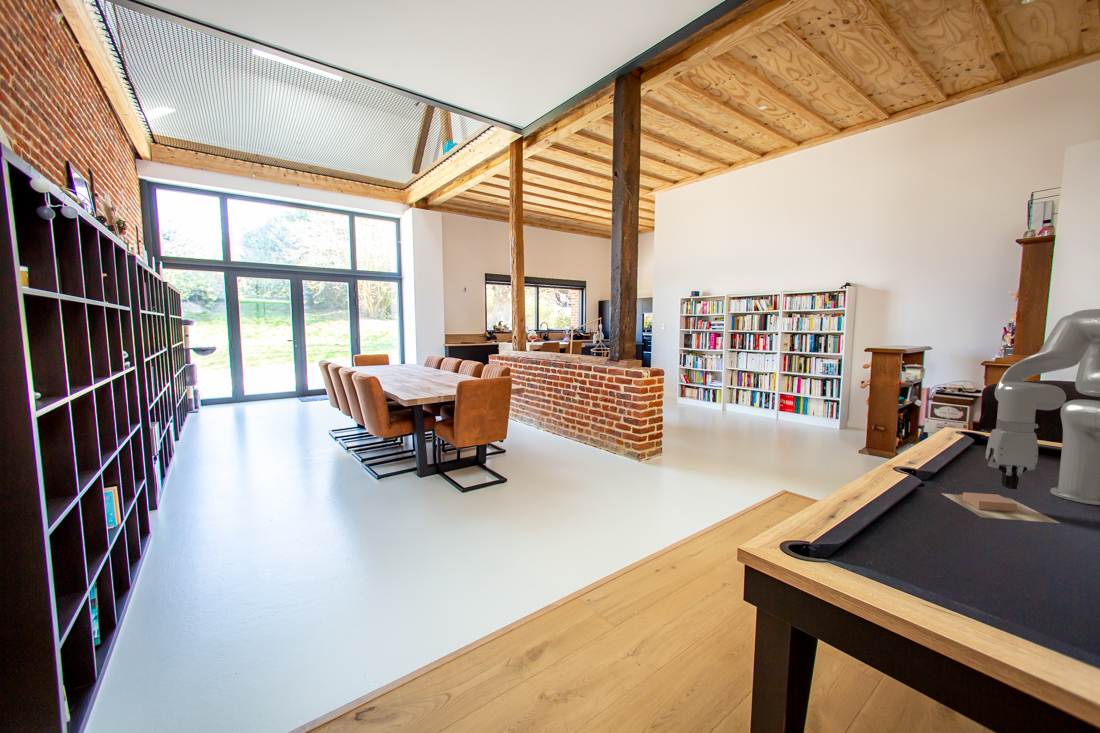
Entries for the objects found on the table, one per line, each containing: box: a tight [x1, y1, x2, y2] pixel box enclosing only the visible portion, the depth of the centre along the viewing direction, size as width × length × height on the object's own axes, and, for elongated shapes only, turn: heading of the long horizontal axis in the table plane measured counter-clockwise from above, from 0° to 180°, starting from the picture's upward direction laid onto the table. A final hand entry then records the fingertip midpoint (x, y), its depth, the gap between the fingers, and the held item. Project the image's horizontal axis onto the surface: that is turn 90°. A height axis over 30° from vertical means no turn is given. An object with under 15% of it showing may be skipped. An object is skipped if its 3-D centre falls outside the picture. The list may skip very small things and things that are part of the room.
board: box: [941, 493, 1061, 524], centre depth 129 cm, size 18×18×1 cm
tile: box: [962, 491, 1017, 512], centre depth 130 cm, size 3×7×9 cm
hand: (1009, 487), depth 128 cm, fingers closed
